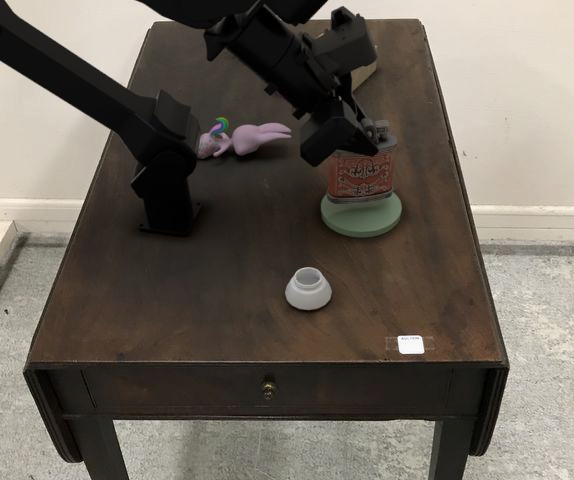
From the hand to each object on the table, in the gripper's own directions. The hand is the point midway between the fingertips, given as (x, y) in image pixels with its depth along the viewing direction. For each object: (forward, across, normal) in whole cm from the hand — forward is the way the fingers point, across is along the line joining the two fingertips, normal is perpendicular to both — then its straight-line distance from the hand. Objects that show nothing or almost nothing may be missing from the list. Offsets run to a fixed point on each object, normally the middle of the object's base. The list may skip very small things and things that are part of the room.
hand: (374, 144), depth 80 cm
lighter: (+4, 0, +6) cm, 7 cm away
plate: (+6, 0, +8) cm, 10 cm away
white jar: (+1, -15, +13) cm, 19 cm away
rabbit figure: (-5, +14, +19) cm, 24 cm away
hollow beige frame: (+4, +34, +9) cm, 35 cm away
